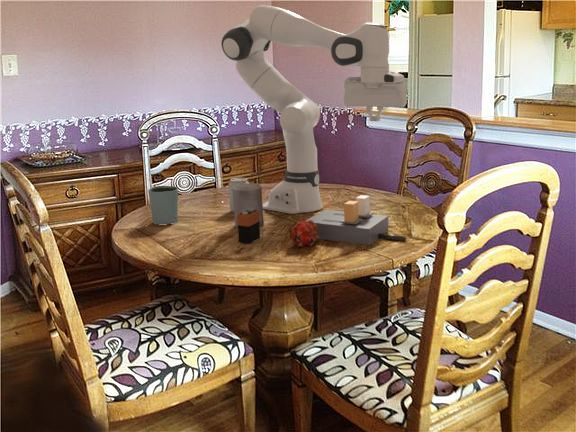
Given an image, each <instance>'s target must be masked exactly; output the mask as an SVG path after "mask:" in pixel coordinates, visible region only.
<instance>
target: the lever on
mask: <svg viewBox="0 0 576 432" xmlns="http://www.w3.org/2000/svg"><path fill="white" fill-rule="evenodd" d="M370 197H371V196H370V195H364V194H363V195H362V194H360V195H359V196H357V197H355V201H358V217H363V218H368V217H370V216H371V215H373V214H374V212H371V210H370V209H371V203H370V202H371V200H370V199H371V198H370Z"/></svg>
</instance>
